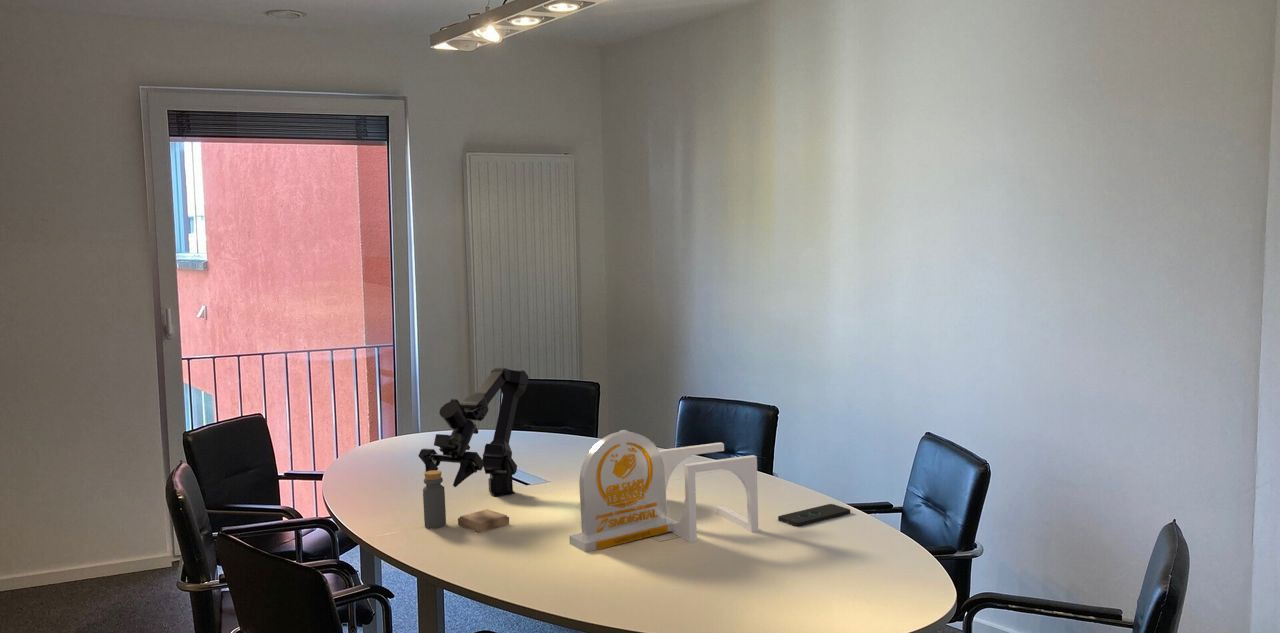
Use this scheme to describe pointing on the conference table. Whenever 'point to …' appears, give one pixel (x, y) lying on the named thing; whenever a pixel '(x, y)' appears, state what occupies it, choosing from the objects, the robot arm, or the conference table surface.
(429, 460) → the robot arm
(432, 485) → the bottle
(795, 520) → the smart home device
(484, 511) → the plinth
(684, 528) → the white arched frame
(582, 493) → the award
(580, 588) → the conference table surface
